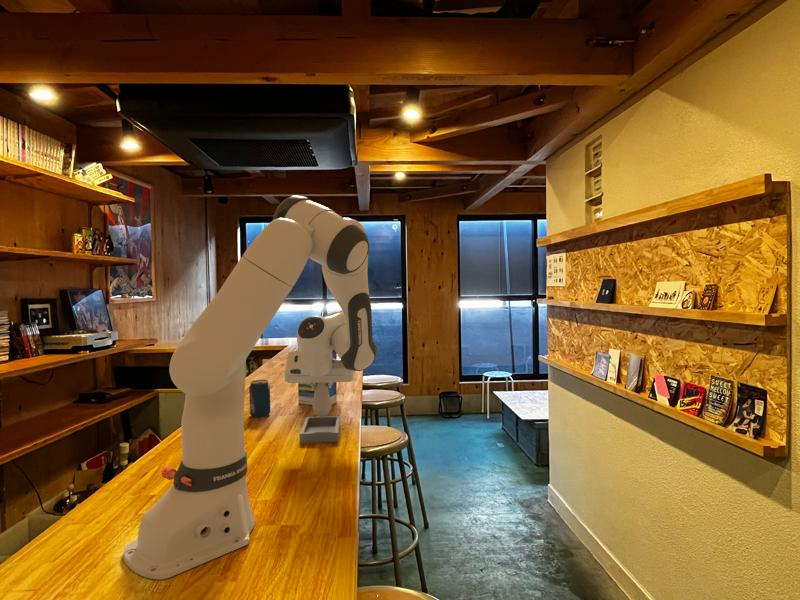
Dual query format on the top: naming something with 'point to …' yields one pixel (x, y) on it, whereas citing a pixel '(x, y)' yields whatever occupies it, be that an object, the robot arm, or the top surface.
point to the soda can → (259, 398)
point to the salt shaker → (321, 400)
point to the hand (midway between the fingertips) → (321, 386)
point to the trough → (320, 430)
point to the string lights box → (308, 392)
